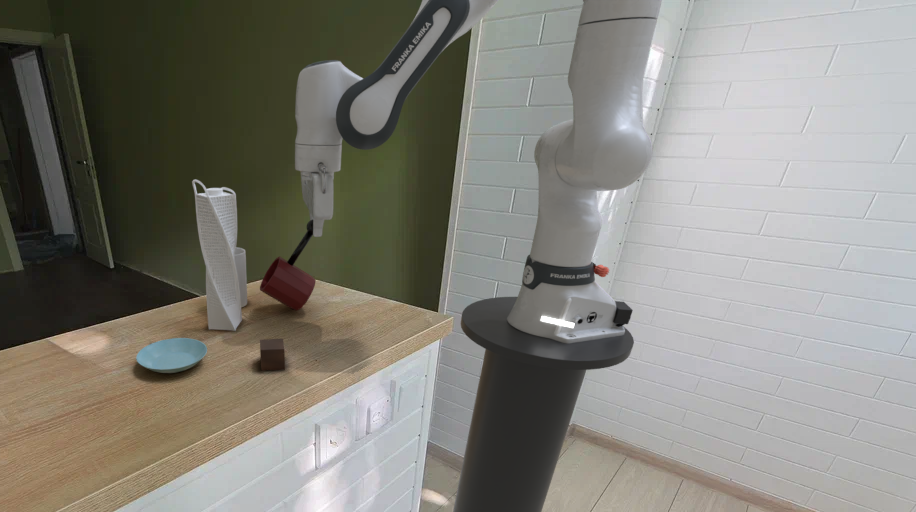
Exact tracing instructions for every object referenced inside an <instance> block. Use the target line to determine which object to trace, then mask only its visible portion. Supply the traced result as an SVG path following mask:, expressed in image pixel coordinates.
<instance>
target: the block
mask: <svg viewBox="0 0 916 512" xmlns="http://www.w3.org/2000/svg"><path fill="white" fill-rule="evenodd" d="M259 351H260V352H259V353H260V354H259V355H260V370H261V372H263V371H267V372H268V371H284V370H286V362H285V361H286V358H285V357H286V355H285V353H286V351H285V343H284V338H267V339H259Z"/></svg>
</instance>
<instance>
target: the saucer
mask: <svg viewBox="0 0 916 512" xmlns="http://www.w3.org/2000/svg"><path fill="white" fill-rule="evenodd" d="M207 353H208V347H207V345H206V344H205V343H204V342H202V341H201V340H198V339H195V338H190V337H189V338H188V337H173V338H167V339H166V338H165V339H161V340H157V341H155V342H152V343H150V344H148V345H146V346H144V347H142V348H141V349H140V350H139V351H138V353H137V354H136V357H135V359H136V363H138V364H139V365H140V366H142V367H143V368H145V369H148V370H150V371H152V372H155V373H161V374H175V373H179V372H180V373H181V372H183V371H187V370H189V369H191V368H193V367H194V366H196V365H198V363H200V362H201V361H202V360H203V358H204V357H205V356H206V355H207Z"/></svg>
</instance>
